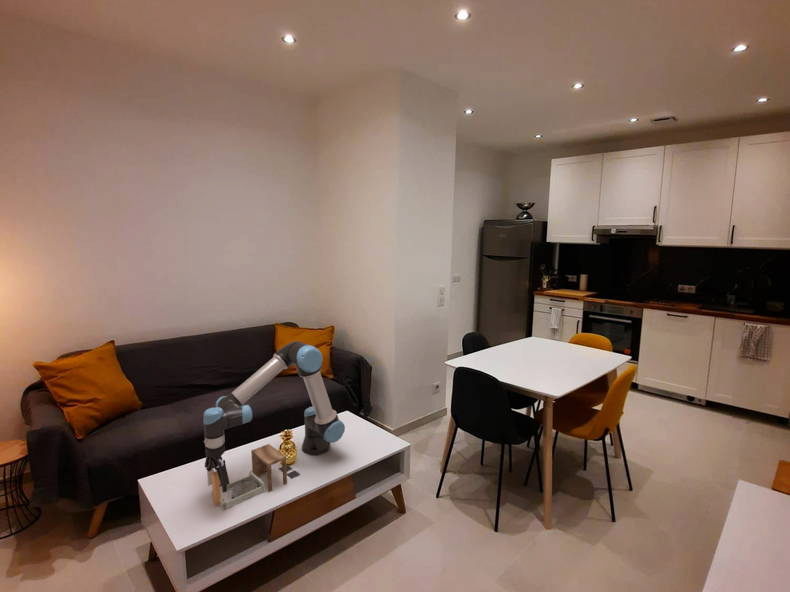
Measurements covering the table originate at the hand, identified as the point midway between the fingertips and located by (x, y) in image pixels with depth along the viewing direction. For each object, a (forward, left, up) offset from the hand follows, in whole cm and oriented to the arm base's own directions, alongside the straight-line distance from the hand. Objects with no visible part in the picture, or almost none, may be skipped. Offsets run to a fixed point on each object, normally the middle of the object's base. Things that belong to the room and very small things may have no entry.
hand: (217, 491), depth 178 cm
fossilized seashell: (-12, +1, -6) cm, 13 cm away
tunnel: (-24, 0, -6) cm, 25 cm away
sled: (-8, 0, -5) cm, 10 cm away
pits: (-35, 0, -6) cm, 35 cm away
